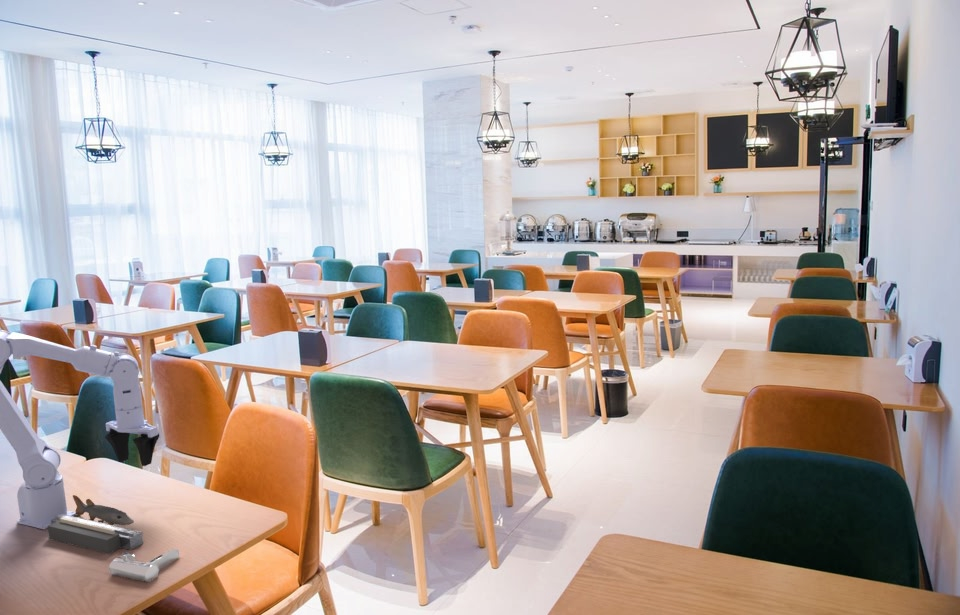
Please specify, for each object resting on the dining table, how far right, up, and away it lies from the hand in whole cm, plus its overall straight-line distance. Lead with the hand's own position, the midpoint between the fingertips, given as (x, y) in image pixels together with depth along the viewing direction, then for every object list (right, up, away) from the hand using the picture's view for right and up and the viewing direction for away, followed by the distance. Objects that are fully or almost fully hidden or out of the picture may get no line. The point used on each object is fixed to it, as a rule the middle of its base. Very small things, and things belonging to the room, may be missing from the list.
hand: (135, 462), depth 164 cm
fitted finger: (-2, -13, -18) cm, 22 cm away
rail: (-1, -12, -15) cm, 20 cm away
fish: (-3, -12, -9) cm, 15 cm away
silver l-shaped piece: (+17, -15, -28) cm, 36 cm away
